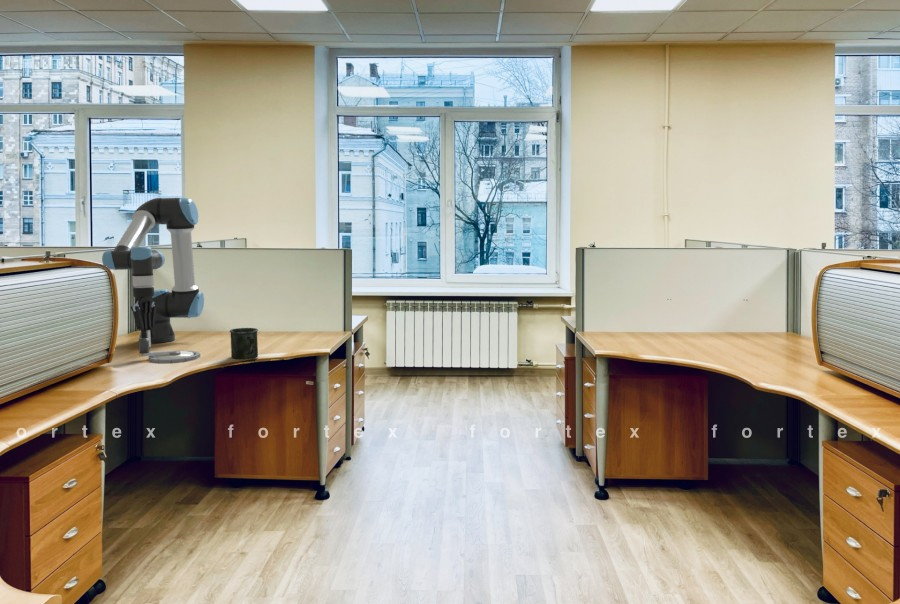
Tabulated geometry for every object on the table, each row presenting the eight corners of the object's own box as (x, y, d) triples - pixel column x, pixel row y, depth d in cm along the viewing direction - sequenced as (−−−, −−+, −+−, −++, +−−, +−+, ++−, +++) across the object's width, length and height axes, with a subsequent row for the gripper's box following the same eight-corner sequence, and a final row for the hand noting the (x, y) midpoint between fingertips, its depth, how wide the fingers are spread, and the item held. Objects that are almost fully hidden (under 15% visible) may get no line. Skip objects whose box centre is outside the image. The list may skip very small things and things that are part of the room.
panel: (126, 367, 265) (126, 361, 265) (155, 354, 291) (155, 348, 291) (196, 367, 265) (195, 361, 265) (218, 354, 291) (218, 349, 291)
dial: (193, 353, 287) (192, 333, 286) (194, 360, 274) (193, 338, 273) (140, 357, 280) (139, 336, 279) (138, 363, 267) (137, 341, 266)
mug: (252, 356, 288) (251, 326, 287) (267, 361, 277) (266, 331, 275) (226, 359, 281) (225, 329, 280) (240, 365, 270) (238, 334, 269)
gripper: (145, 284, 282) (149, 343, 284) (123, 288, 269) (127, 349, 272) (162, 285, 280) (165, 344, 283) (140, 288, 267) (144, 350, 270)
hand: (146, 346), depth 277 cm, fingers closed
